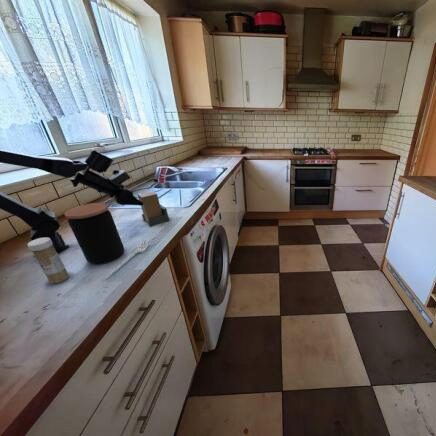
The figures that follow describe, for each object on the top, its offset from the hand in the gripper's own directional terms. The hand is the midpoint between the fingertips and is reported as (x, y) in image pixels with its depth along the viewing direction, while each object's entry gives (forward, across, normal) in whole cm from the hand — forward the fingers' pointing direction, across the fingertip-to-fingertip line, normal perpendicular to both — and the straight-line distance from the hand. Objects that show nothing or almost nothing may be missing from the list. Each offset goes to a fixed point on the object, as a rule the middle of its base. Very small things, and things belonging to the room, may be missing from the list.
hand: (139, 201), depth 97 cm
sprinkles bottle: (-14, -22, +29) cm, 39 cm away
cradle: (+10, 0, +5) cm, 11 cm away
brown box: (+10, 0, +5) cm, 11 cm away
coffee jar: (-5, -18, +20) cm, 27 cm away
